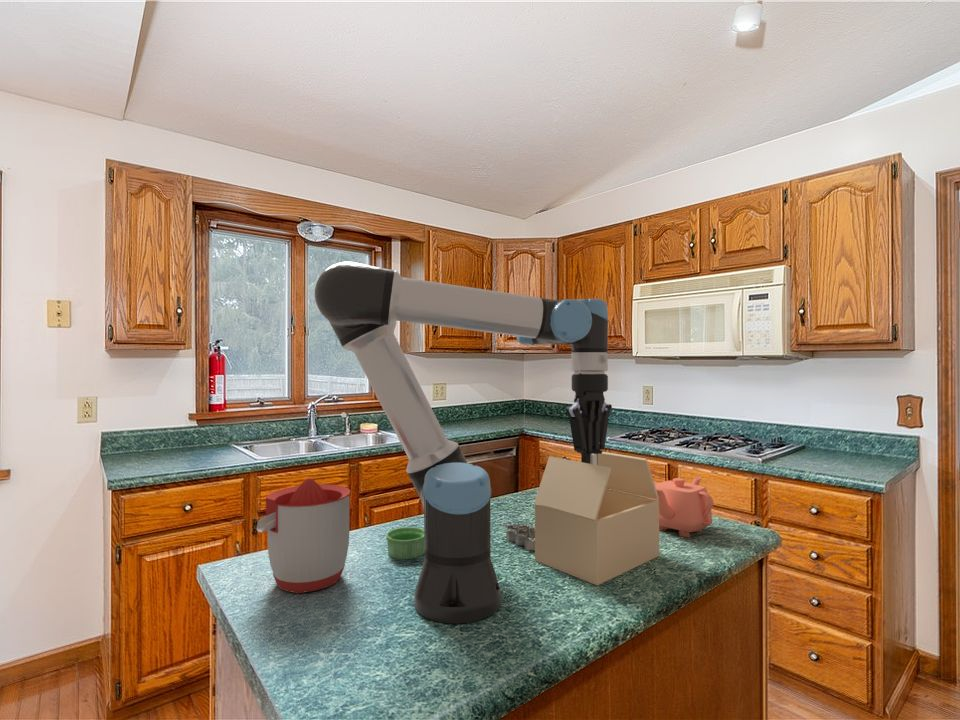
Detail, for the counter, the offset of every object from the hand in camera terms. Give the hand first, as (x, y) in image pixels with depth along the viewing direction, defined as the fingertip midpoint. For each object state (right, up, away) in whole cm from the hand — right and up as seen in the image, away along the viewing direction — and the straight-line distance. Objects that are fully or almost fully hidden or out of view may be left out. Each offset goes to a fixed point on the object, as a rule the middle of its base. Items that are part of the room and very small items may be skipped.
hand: (589, 484), depth 109 cm
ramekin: (-39, -17, +6) cm, 43 cm away
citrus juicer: (-57, -17, -9) cm, 60 cm away
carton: (+2, -16, +2) cm, 16 cm away
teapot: (+27, -16, +20) cm, 37 cm away
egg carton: (-12, -17, +12) cm, 24 cm away
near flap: (-4, 0, -4) cm, 6 cm away
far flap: (+8, +1, +7) cm, 11 cm away
